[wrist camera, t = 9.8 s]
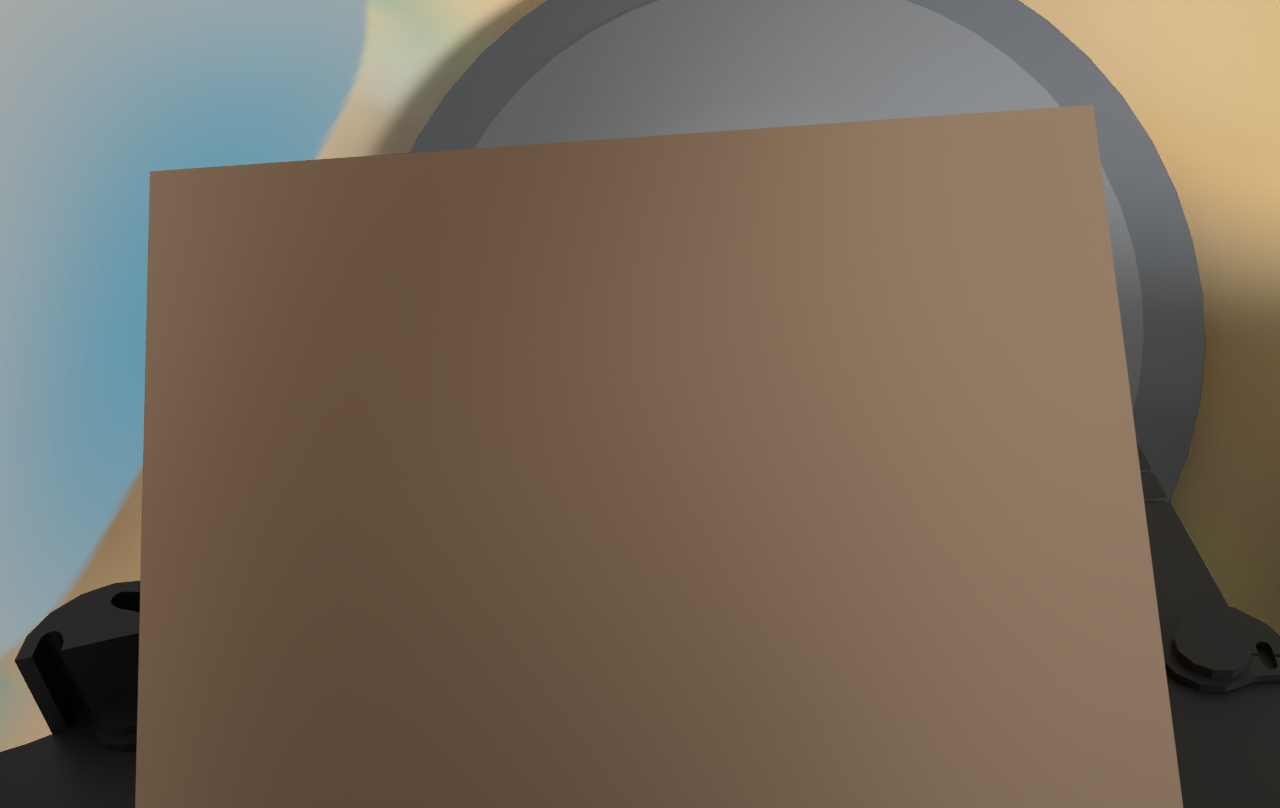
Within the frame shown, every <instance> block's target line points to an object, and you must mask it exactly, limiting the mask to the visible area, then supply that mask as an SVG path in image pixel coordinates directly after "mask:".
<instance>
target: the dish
mask: <svg viewBox="0 0 1280 808" xmlns="http://www.w3.org/2000/svg"><path fill="white" fill-rule="evenodd" d="M1084 105H1093V106H1094V113H1095V121H1096V129H1097V137H1098V145H1099V153H1100V160H1101V168H1102V176H1103V184H1104V192H1105V199H1106V207H1107V215H1108V223H1109V231H1110V239H1111V246H1112V254H1113V262H1114V270H1115V278H1116V285H1117V293H1118V301H1119V309H1120V317H1121V325H1122V332H1123V340H1124V348H1125V356H1126V364H1127V371H1128V379H1129V387H1130V395H1131V403H1132V411H1133V418H1134V426H1135V434H1136V442H1137V444H1138V446H1139V447H1140V449H1141V451H1142V453H1143V455H1144V456H1145V458H1146V460H1147V462H1148V464H1149V465H1150V472H1151V474H1155V476H1156V478H1157V480H1158V481H1159V483H1160V485H1161V487H1162V489H1163V490H1164V492H1165V494H1166V501H1167V502H1170V499H1171V497H1172V494H1173V492H1174V489H1175V486H1176V484H1177V481H1178V479H1179V476H1180V473H1181V471H1182V468H1183V466H1184V463H1185V461H1186V458H1187V455H1188V451H1189V447H1190V442H1191V438H1192V434H1193V430H1194V425H1195V421H1196V417H1197V412H1198V408H1199V404H1200V396H1201V385H1202V374H1203V363H1204V351H1205V340H1204V319H1203V298H1202V289H1201V284H1200V278H1199V273H1198V268H1197V262H1196V257H1195V252H1194V246H1193V241H1192V237H1191V234H1190V231H1189V228H1188V225H1187V222H1186V219H1185V216H1184V213H1183V210H1182V207H1181V204H1180V201H1179V198H1178V195H1177V192H1176V189H1175V187H1174V185H1173V183H1172V181H1171V179H1170V177H1169V175H1168V173H1167V171H1166V169H1165V166H1164V164H1163V162H1162V160H1161V158H1160V156H1159V154H1158V152H1157V150H1156V148H1155V146H1154V144H1153V142H1152V140H1151V139H1150V137H1149V136H1148V134H1147V133H1146V131H1145V130H1144V128H1143V126H1142V125H1141V123H1140V122H1139V120H1138V119H1137V117H1136V116H1135V114H1134V113H1133V111H1132V110H1131V108H1130V107H1129V105H1128V104H1127V102H1126V101H1125V99H1124V98H1123V96H1122V95H1121V94H1120V93H1119V92H1118V91H1117V89H1116V88H1115V87H1114V86H1113V85H1112V84H1111V82H1110V81H1109V80H1108V79H1107V78H1106V77H1105V76H1104V74H1103V73H1102V72H1101V71H1100V70H1099V69H1098V67H1097V66H1096V65H1095V64H1094V63H1093V62H1092V60H1091V59H1090V58H1089V57H1088V56H1087V55H1086V54H1085V53H1084V52H1082V51H1081V50H1080V49H1079V48H1078V47H1077V46H1076V45H1075V44H1074V43H1072V42H1071V41H1070V40H1069V39H1068V38H1067V37H1066V36H1065V35H1063V34H1062V33H1061V32H1060V31H1059V30H1058V29H1057V28H1056V27H1055V26H1053V25H1052V24H1051V23H1050V22H1049V21H1048V20H1046V19H1045V18H1043V17H1042V16H1040V15H1039V14H1038V13H1036V12H1035V11H1033V10H1032V9H1030V8H1029V7H1027V6H1026V5H1024V4H1023V3H1022V2H1020V1H1019V0H548V1H546V2H545V3H543V4H542V5H541V6H539V7H538V8H536V9H535V10H533V11H532V12H530V13H529V14H528V15H526V16H525V17H523V18H522V19H520V20H519V21H518V22H517V23H516V24H514V25H513V26H512V27H511V28H510V29H509V30H508V31H507V32H506V33H504V34H503V35H502V36H501V37H500V38H499V39H498V40H497V41H496V42H494V43H493V44H492V45H491V46H490V47H489V48H488V49H487V50H486V51H484V52H483V53H482V54H481V55H480V56H479V57H478V58H477V60H476V61H475V62H474V63H473V64H472V65H471V67H470V68H469V69H468V70H467V71H466V72H465V73H464V75H463V76H462V77H461V78H460V79H459V80H458V82H457V83H456V84H455V85H454V86H453V87H452V89H451V90H450V91H449V92H448V93H447V94H446V96H445V97H444V99H443V100H442V102H441V103H440V105H439V106H438V108H437V110H436V111H435V113H434V114H433V116H432V117H431V119H430V120H429V122H428V123H427V125H426V126H425V128H424V129H423V131H422V132H421V134H420V135H419V137H418V139H417V141H416V143H415V145H414V147H413V149H412V151H411V153H420V152H434V151H448V150H462V149H476V148H491V147H505V146H519V145H533V144H547V143H561V142H575V141H589V140H604V139H618V138H632V137H646V136H660V135H674V134H688V133H703V132H717V131H731V130H745V129H759V128H773V127H787V126H802V125H816V124H830V123H844V122H858V121H872V120H886V119H901V118H915V117H929V116H943V115H957V114H971V113H985V112H999V111H1014V110H1028V109H1042V108H1056V107H1070V106H1084Z"/></svg>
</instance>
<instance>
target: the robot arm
mask: <svg viewBox="0 0 1280 808" xmlns="http://www.w3.org/2000/svg"><path fill="white" fill-rule="evenodd" d="M1137 450H1138V457H1139V465H1140V473H1141V481H1142V489H1143V497H1144V504H1145V512H1146V520H1147V528H1148V536H1149V543H1150V551H1151V559H1152V567H1153V575H1154V583H1155V590H1156V598H1157V606H1158V614H1159V622H1160V629H1161V637H1162V645H1163V653H1164V661H1165V669H1166V676H1167V684H1168V692H1169V700H1170V708H1171V715H1172V723H1173V731H1174V739H1175V747H1176V755H1177V762H1178V770H1179V778H1180V786H1181V794H1182V801H1183V808H1280V636H1279V635H1278V634H1277V633H1276V632H1275V631H1273V630H1272V629H1271V628H1270V627H1269V626H1268V625H1267V624H1265V623H1263V622H1261V621H1259V620H1257V619H1255V618H1253V617H1251V616H1249V615H1247V614H1245V613H1243V612H1241V611H1239V610H1237V609H1235V608H1232V607H1228V605H1227V603H1226V601H1225V600H1224V598H1223V596H1222V594H1221V592H1220V591H1219V589H1218V587H1217V585H1216V583H1215V582H1214V580H1213V578H1212V576H1211V574H1210V573H1209V571H1208V569H1207V567H1206V566H1205V564H1204V562H1203V560H1202V558H1201V557H1200V555H1199V553H1198V551H1197V549H1196V548H1195V546H1194V544H1193V542H1192V540H1191V539H1190V537H1189V535H1188V533H1187V532H1186V530H1185V528H1184V526H1183V524H1182V523H1181V521H1180V519H1179V517H1178V515H1177V514H1176V512H1175V510H1174V508H1173V506H1172V505H1171V503H1170V502H1167V501H1166V494H1165V492H1164V490H1163V489H1162V487H1161V485H1160V483H1159V481H1158V480H1157V478H1156V476H1155V474H1151V472H1150V465H1149V464H1148V462H1147V460H1146V458H1145V456H1144V455H1143V453H1142V451H1141V449H1140V447H1139V446H1138V444H1137ZM140 582H141V581H133V582H122V583H114V584H111V585H108V586H105V587H102V588H99V589H96V590H93V591H90V592H87V593H84V594H81V595H80V596H78V597H76V598H75V599H73V600H71V601H70V602H68V603H66V604H65V605H63V606H61V607H60V608H58V609H56V610H54V611H53V612H51V613H50V614H49V615H48V616H47V617H46V618H45V619H44V620H43V621H42V622H41V623H40V624H39V625H38V626H37V627H36V628H35V629H34V630H33V631H32V632H31V633H30V634H29V635H27V637H26V639H25V641H24V643H23V645H22V647H21V649H20V651H19V653H18V655H17V657H16V659H15V662H16V664H17V666H18V668H19V670H20V672H21V674H22V676H23V678H24V680H25V682H26V684H27V685H28V687H29V689H30V691H31V693H32V695H33V697H34V699H35V701H36V703H37V705H38V707H39V709H40V711H41V713H42V715H43V717H44V718H45V720H46V722H47V724H48V726H49V728H50V730H51V732H52V735H49V736H47V737H44V738H41V739H39V740H36V741H34V742H31V743H28V744H26V745H22V746H19V747H16V748H12V749H9V750H6V751H2V752H0V808H135V795H136V752H137V709H138V667H139V624H140Z"/></svg>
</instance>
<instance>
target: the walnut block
mask: <svg viewBox="0 0 1280 808" xmlns="http://www.w3.org/2000/svg"><path fill="white" fill-rule="evenodd" d="M148 242H149V244H148V285H147V326H146V327H147V328H146V329H147V330H146V369H145V411H144V415H145V416H144V454H143V497H142V539H141V582H140V624H139V667H138V709H137V752H136V795H135V808H1183V801H1182V794H1181V786H1180V778H1179V770H1178V762H1177V755H1176V747H1175V739H1174V731H1173V723H1172V715H1171V708H1170V700H1169V692H1168V684H1167V676H1166V669H1165V661H1164V653H1163V645H1162V637H1161V629H1160V622H1159V614H1158V606H1157V598H1156V590H1155V583H1154V575H1153V567H1152V559H1151V551H1150V543H1149V536H1148V528H1147V520H1146V512H1145V504H1144V497H1143V489H1142V481H1141V473H1140V465H1139V457H1138V450H1137V442H1136V434H1135V426H1134V418H1133V411H1132V403H1131V395H1130V387H1129V379H1128V371H1127V364H1126V356H1125V348H1124V340H1123V332H1122V325H1121V317H1120V309H1119V301H1118V293H1117V285H1116V278H1115V270H1114V262H1113V254H1112V246H1111V239H1110V231H1109V223H1108V215H1107V207H1106V199H1105V192H1104V184H1103V176H1102V168H1101V160H1100V153H1099V145H1098V137H1097V129H1096V121H1095V113H1094V106H1093V105H1084V106H1070V107H1056V108H1042V109H1028V110H1014V111H999V112H985V113H971V114H957V115H943V116H929V117H915V118H901V119H886V120H872V121H858V122H844V123H830V124H816V125H802V126H787V127H773V128H759V129H745V130H731V131H717V132H703V133H688V134H674V135H660V136H646V137H632V138H618V139H604V140H589V141H575V142H561V143H547V144H533V145H519V146H505V147H491V148H476V149H462V150H448V151H434V152H420V153H406V154H392V155H377V156H363V157H349V158H335V159H321V160H307V161H293V162H279V163H266V164H265V163H264V164H251V165H236V166H223V167H208V168H194V169H180V170H165V171H152V172H150V200H149V241H148Z"/></svg>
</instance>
